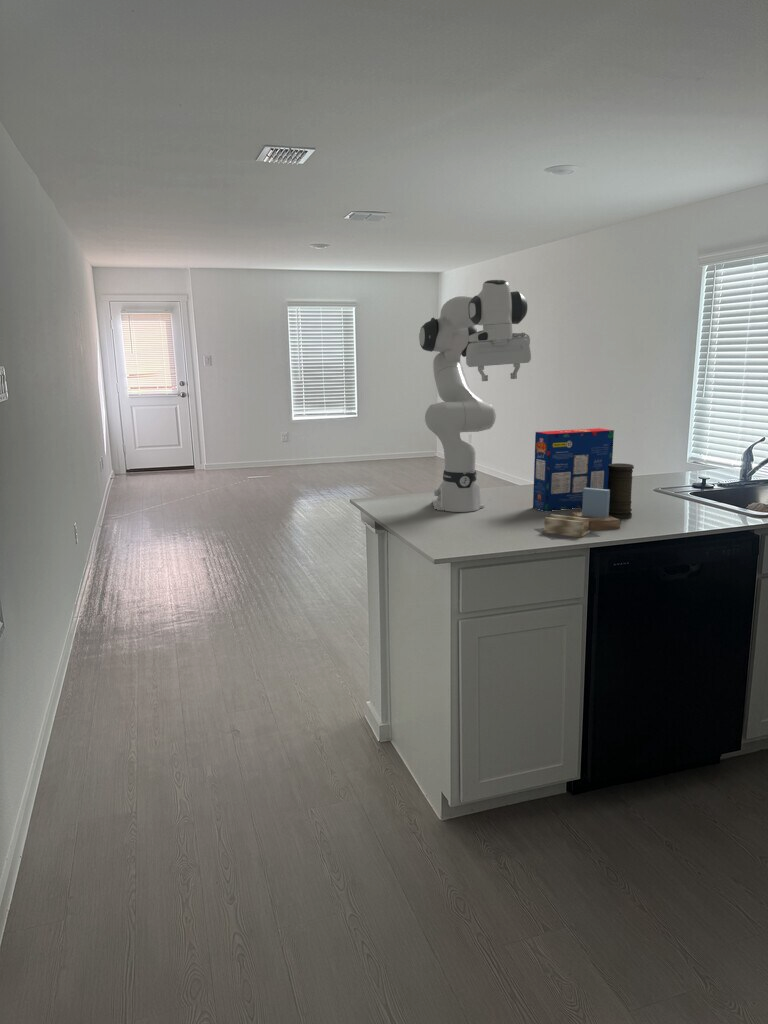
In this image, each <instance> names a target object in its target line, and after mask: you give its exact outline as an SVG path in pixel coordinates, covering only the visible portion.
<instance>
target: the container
mask: <svg viewBox="0 0 768 1024" xmlns="http://www.w3.org/2000/svg"><path fill="white" fill-rule="evenodd" d="M608 468H609V476H608V490H610V501H609V515H610V516H612V517H614V518H617V519H619V520H625V518H627V519H631V518H632V517H633V516H632V515H633V513H632V511H633V510H632V490H633V488H632V485H633V469H634V468H635V466H634V465H633V464H631V463H621V462H618V463H612V464H609V465H608Z"/></svg>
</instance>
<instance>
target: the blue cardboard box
mask: <svg viewBox="0 0 768 1024" xmlns="http://www.w3.org/2000/svg"><path fill="white" fill-rule="evenodd" d="M534 435H535V436H534V437H535V439H534V463H533V464H534V465H533V466H534V467H533V468H534V469H533V494H532V495H533V498H532V500H533V501H532V509H535V508H536V510H538V509H540V510H539V511H541V510H543V511H542V512H544V511H551V512H553V511H552V510H561V509H570V510H573V509H572V508H580V509H582V504H583V489H584V488H597V489H608V476H609V468H608V465H609V464H613V455H614V454H613V453H614V435H615V429H608V428H600V427H598V428H581V429H567V430H566V429H564V430H563V429H561V430H546V431H544V430H543V431H535V434H534ZM561 511H562V510H561Z"/></svg>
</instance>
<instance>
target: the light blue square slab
mask: <svg viewBox="0 0 768 1024" xmlns="http://www.w3.org/2000/svg"><path fill="white" fill-rule="evenodd" d="M609 501H610V490H608V489H597V488H584V489H583V504H582V508H581V512H582V516H590V517H599V518H608V517H609Z"/></svg>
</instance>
